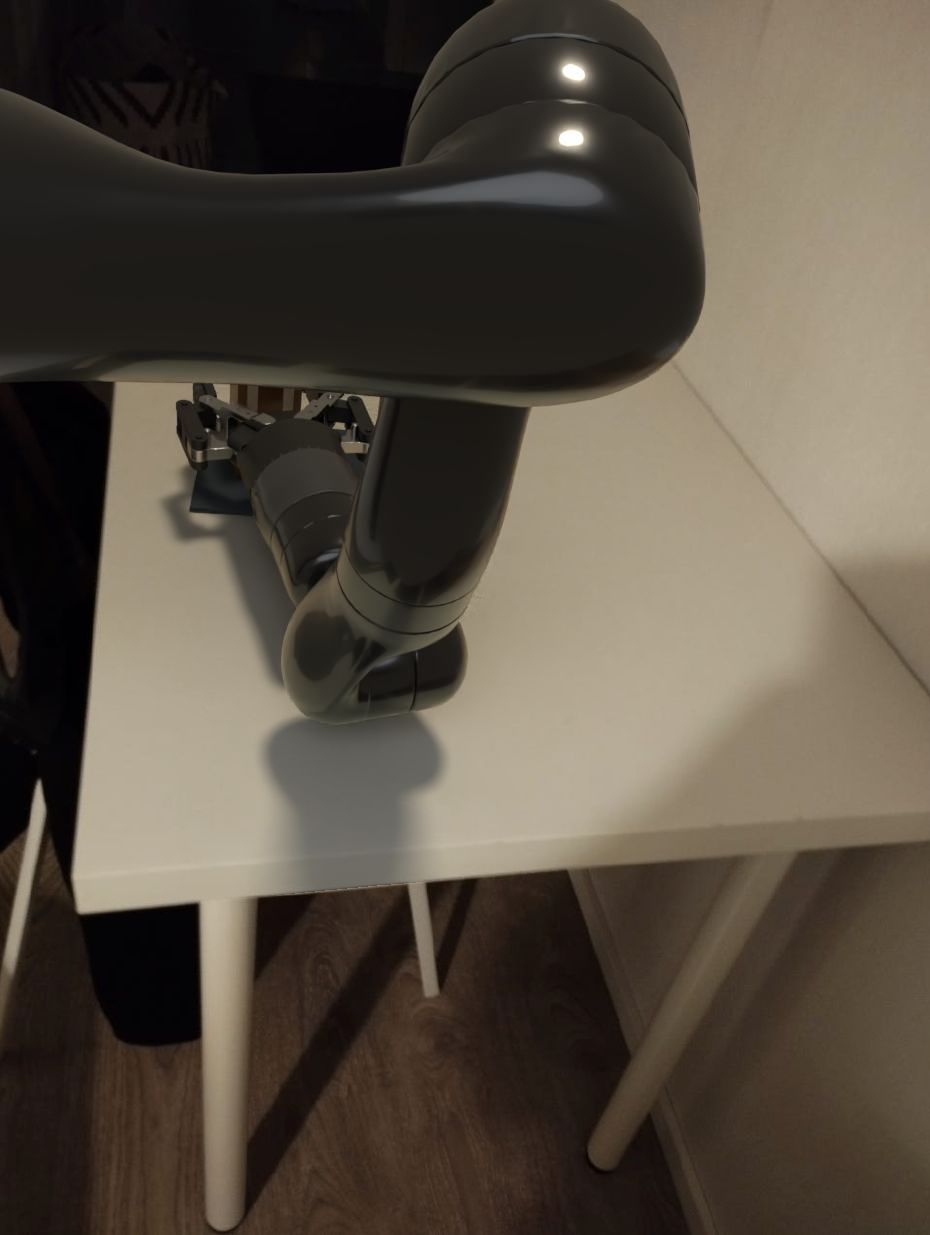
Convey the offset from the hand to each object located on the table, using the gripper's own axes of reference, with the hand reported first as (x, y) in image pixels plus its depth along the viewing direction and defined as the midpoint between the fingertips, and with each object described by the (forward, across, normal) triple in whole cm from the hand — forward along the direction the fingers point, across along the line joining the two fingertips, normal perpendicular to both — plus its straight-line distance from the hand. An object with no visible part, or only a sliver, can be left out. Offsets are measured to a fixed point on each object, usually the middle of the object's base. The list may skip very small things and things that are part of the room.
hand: (257, 383), depth 79 cm
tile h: (-2, 0, +6) cm, 7 cm away
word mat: (-3, -5, +7) cm, 9 cm away
